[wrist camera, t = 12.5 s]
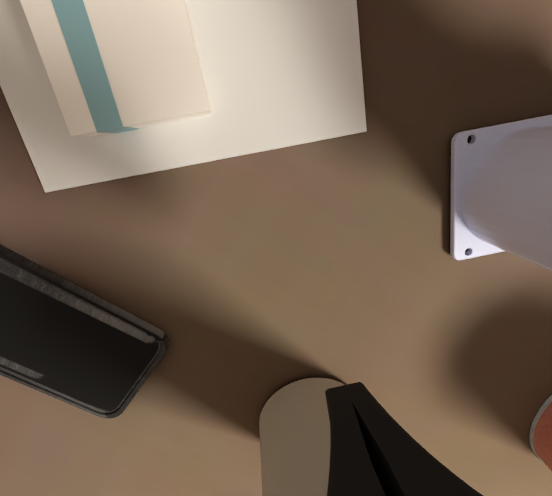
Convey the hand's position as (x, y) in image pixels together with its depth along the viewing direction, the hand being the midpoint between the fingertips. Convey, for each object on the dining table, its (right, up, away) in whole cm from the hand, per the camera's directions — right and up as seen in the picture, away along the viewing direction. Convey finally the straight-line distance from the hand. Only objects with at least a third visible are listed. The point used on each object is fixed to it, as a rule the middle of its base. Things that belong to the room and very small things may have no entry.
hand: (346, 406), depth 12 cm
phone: (-18, +1, +9) cm, 20 cm away
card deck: (-7, +17, +3) cm, 18 cm away
